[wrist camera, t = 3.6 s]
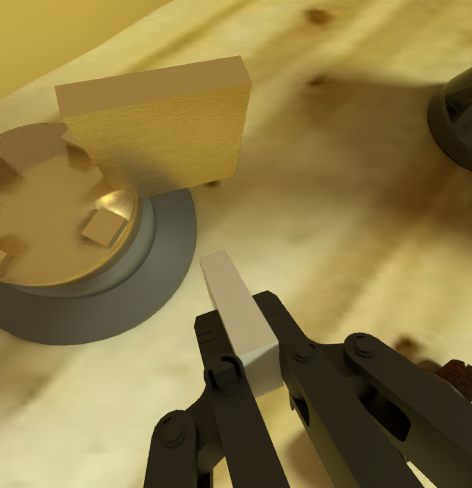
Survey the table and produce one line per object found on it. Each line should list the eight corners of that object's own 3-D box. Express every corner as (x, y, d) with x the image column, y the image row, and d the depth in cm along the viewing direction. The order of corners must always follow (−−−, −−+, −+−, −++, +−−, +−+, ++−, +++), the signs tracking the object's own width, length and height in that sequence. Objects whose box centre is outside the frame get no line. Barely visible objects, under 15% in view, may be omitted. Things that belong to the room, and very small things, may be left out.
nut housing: (109, 108, 32) (92, 71, 27) (238, 236, 29) (244, 220, 24) (-76, 226, 26) (-140, 205, 21) (63, 398, 23) (26, 419, 18)
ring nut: (-13, 312, 20) (-251, 305, 9) (-30, 164, 23) (-226, 37, 12) (253, 232, 24) (288, 166, 13) (209, 115, 27) (211, -12, 16)
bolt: (440, 372, 29) (337, 461, 25) (434, 338, 28) (323, 426, 24) (508, 412, 24) (391, 532, 20) (506, 372, 22) (378, 493, 19)
